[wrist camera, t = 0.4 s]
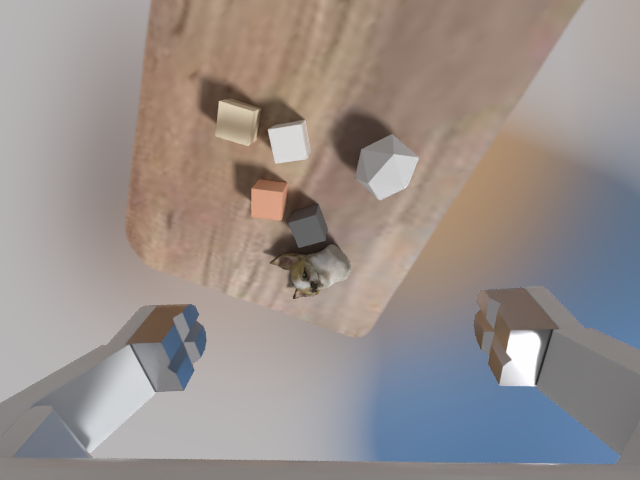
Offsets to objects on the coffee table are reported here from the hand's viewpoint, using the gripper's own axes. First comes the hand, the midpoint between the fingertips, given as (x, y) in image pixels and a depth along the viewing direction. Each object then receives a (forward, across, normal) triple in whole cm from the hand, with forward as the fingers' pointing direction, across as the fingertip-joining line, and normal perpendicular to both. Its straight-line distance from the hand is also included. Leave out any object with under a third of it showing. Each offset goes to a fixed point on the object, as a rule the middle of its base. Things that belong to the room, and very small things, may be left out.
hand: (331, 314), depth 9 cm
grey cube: (+45, +8, +2) cm, 46 cm away
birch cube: (+45, +16, -2) cm, 47 cm away
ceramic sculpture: (+45, +7, +25) cm, 52 cm away
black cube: (+45, +7, +16) cm, 48 cm away
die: (+45, -6, +7) cm, 46 cm away
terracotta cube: (+45, +13, +11) cm, 48 cm away
